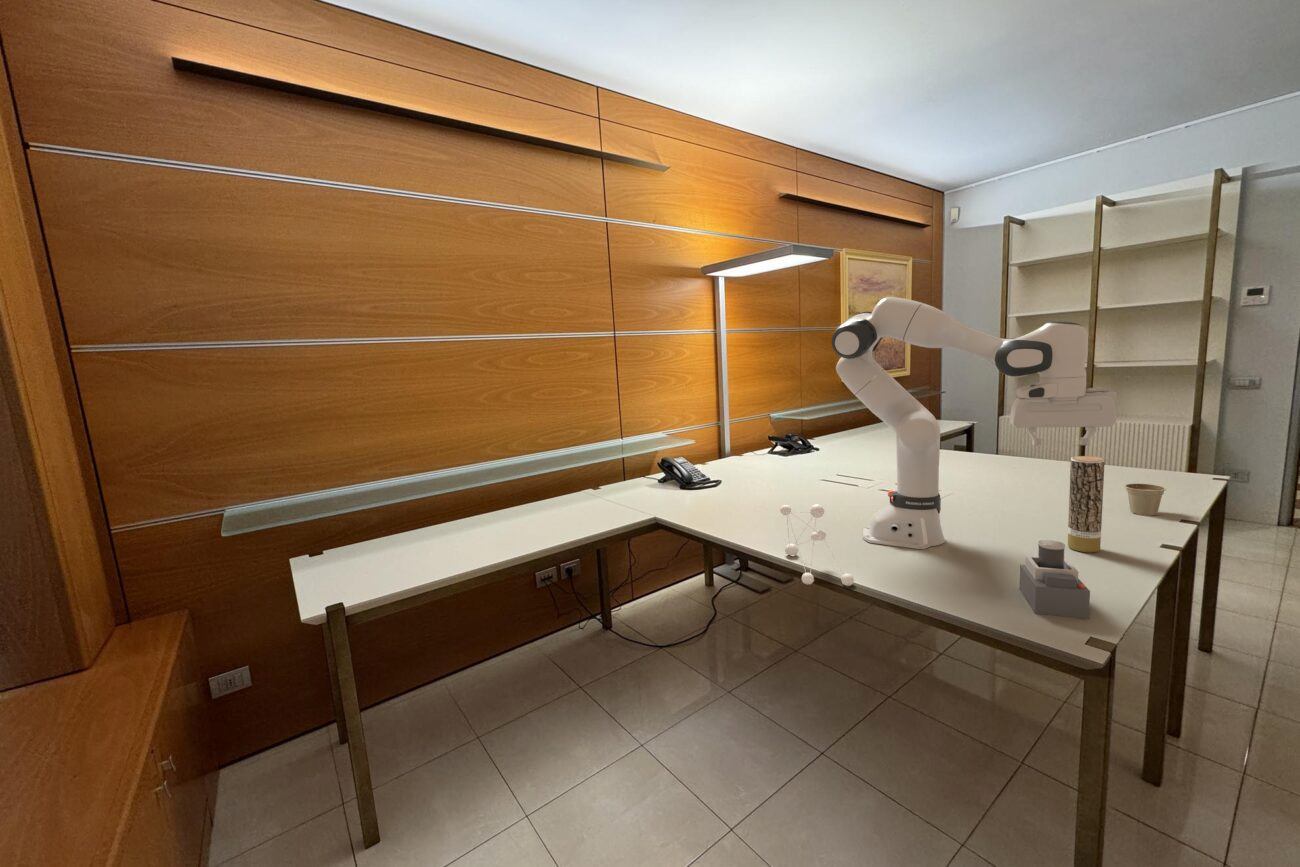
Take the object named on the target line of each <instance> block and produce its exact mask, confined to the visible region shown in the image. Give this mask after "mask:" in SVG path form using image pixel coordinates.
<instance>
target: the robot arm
mask: <svg viewBox="0 0 1300 867" xmlns="http://www.w3.org/2000/svg"><path fill="white" fill-rule="evenodd" d="M885 337H886V338H887V337H888V338H892V339H895V340H898V341H901V342H904V343H906V344H908V345H909V344H910V345H913V346H916V347H923V348H928V349H950V350H951V349H952V350H956V351H961V352H964V353H966V354H970V355H973V356H976V357H979V358H982V359H984V360H986V361H989V362H990V363H992V364H993V365H995V367H996V369H998V371H999V372H1000V373H1001V374H1003V375H1005V376H1007V377H1011V378H1022V377H1027V376H1029V375H1035V374H1038V375H1039V380H1038V381H1039V382H1036V383H1031V384H1029V385H1026V386H1022V387H1019V388H1017V389H1016V391H1015V393H1016V396H1017V398H1016V399H1015V400H1014V401H1013V403H1012V405H1011V410H1010V414H1009V415H1010V416H1009V417H1010V418H1009V423H1010V424H1011V426H1013V427H1014V428H1016V429H1024V428H1025V429H1026V431H1027V433H1028V434H1029V436H1030V437H1031V443H1032V444H1031V445H1032V446H1034V447H1035V446H1042V438H1040V437H1037V435H1036V434H1035V433H1036V432H1037V428H1039V429H1040V428H1044V429H1045V428H1085V431H1087V432H1086V433H1085V434H1084V436H1083V437H1082V436H1081V437H1079V438H1078V439H1079V441H1078V444H1079V446H1090V441H1091V440H1090V439H1092V437H1093V436H1094V435H1095V433H1096V432H1097V427H1098V428H1100V427H1102V428H1107V427H1113V426H1114V425H1115V424H1116V423H1117V412H1116V406H1115V404H1116V403H1117V399H1118V397H1117V396H1118V395H1117V392H1116V391H1115V390H1114V389H1112V388H1109V387H1105V386H1104V387H1087V374H1088V373H1087V371H1086V362H1087V360H1088V354H1089V353H1088V335H1087V330H1086V328H1085V327H1084V326H1083V325H1082V324H1079V323H1077V322H1069V321H1048V322H1046V323H1045V324H1043V325H1041V327H1038V328H1037V329H1034V330H1033V331H1030V332H1029V333H1027V334H1024V335H1022V336H1018V337H1013V338H1004V337H999V336H995V335H992V334H989V333H986V332H983V331H980V330H976V329H974V328H970V327H968V326H966V325H965V324H962V323H961V322H959V321H958V320H957V319H955V318H954V317H953V316H951V315H950V314H948V313H947V312H945V311H943V310H941V309H939V308H938V307H937V308H936V307H935V306H933V305H930V304H927V303H924V302H921V301H917V300H914V299H913V300H912V299H908V298H904V297H897V296H896V297H895V296H887V297H884V298H882V299H880V301H878V302H877V303H876V304H875V306H874V307H873V310H872V311H863V312H858V313H857V314H856V315H855V314H854V315H853V316H850V318H847V319H846V320H845V321H844V323H842V324H840V325H839V326H838V327H837V328H836V329H835V330H834V332H833V335H832V337H831V347H832V349H833V351H834V353H835V354H836V355H838V356H839V357H840V358H839V360H838V362H837V363H836V365H835V371H836V374H837V375H838V376H839V378H840V379H841V381H842V382H843V384H844V385H845V386H846V388H848V390H849V391H850V392H851V393H852V394H853V395H854V396H855V397H856V398H857V399H858V400H859V401H860V402H861V403H862V404H863V405H864V406H865V407H866V408H867V409H868V410H869V411H870V412H871V413H872V414H874V415H875V417H877V418H879V420H880V421H882V422H883V423H885V425H887V426H888V427H889V428H890V429H891V430H892V431H893V432H894V433H895V434H896V491H894V490H893V489H891V490H889V491H887V496H888V497H889V503H888V504H887V505H885V506H884V507H882V508H880V509H878V510H877V511H876V512H875V513H873V515H872V516H871V519H870V522H869V525H868V526H866V527H864V528H863V529H862V538H863V540H865V541H866V542H868V543H870V544H877V545H886V546H893V547H900V548H908V549H917V550H926V549H927V548H931V547H935V546H939V545H942V544H944V543H945V541H946V539H945V536H944V534H943V528H942V524H941V518H940V516H941V509H942V508H941V507H942V506H941V505H942V499H941V498H942V497H941V493H940V492H939V488H940V487H939V484H940V482H939V479H940V477H939V476H940V473H939V472H940V455H941V452H940V450H941V449H940V448H941V428H940V424H939V423H938V421H937V419H936V417H935V415H934V414H933V413H932V412H931V411H929V410H928V409H927V408H926V407H925V406H924V404H922V403H921V402H920V401H919V400H918V399H916V398H915V397H914V396H913V395H912V394H911V393H910V392H909V391H907V390H906V389H905V387H903V386H902V385H901V384H900V383H899V382H898V381H897V380H896V379H895V378H894V377H893V376H892V375H891V374H890V373H889V372H888V371H886V370H885V369H884V368H883V367H882V366H881V365H880V364H879V363H878V362H877V361H876V360H875V358H874V356H873V352H874V351H876V350H877V348H878V346H879V344H880V343H881V341H882V339H883V338H885Z"/></svg>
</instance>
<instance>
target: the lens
mask: <svg viewBox="0 0 1300 867" xmlns="http://www.w3.org/2000/svg"><path fill="white" fill-rule="evenodd" d="M1037 546H1038V555H1037V556H1038V567H1043V568H1056V569H1064V558H1065V549H1066V544H1065V543H1063V542H1061V541H1058V540H1052V539H1040V540H1039V541H1038V542H1037Z"/></svg>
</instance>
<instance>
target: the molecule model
mask: <svg viewBox="0 0 1300 867" xmlns="http://www.w3.org/2000/svg"><path fill="white" fill-rule="evenodd" d="M779 510H780V514H782V516H786V521H787V522H786V524H787V525H789V523H790V526H791V529H792V533H793V537H794V539H795V543H790V540H788V543H787V545H786V546H785V549H784V552H785V554H786V555H787V554H788V555H796V556H797V555H798V553H799V555H800V559H801V562H802V565H803V570H804V572H805V573H803V574H802V576H801V581H802V583H803V584H804V585H807V586H809V585H811V584H813V583H814V582H815V577H814V575H813V574H812V569H809V570H810V571H809V572H806V571H807V570H806V568H805V564H804V562H803V561H804V560H803V557H802V555H801V551H800V548H799V545H802V544H804V543H805V544H806V543H808V542H811V541H812V546H814V545H815V544H814V543H815V542H817V541H824V542H825V544H826V546H827V547H828V549H829V552H830V553H831V555H832V557H833V559H834V560H835V562H836V564H837V565H838V567H839V570H840V571H841V574H842V575H841V578H840V580H841V583H842V584H843V585H844V586H846V587H850V586H852V585H853V584H854V582H855V580H854V576H853V575H852V574H851V573H844V572H843V571H842V568H841V567H840V565H839V563H838V561H837V559H836V558H835V556H834V554H833V552H832V551H831V549H830V546H829V544H828V543H827V541H826V537H827V533H826V531H825V530H823V529H817V530H816V528H814V527H812V526H810V525H809V524H810V522H811V520H812V519H813V518H815V520H814V521H815V522H814V526H816V525H817V524H816V523H817V522H816V521H817V519H819V518H821V517H823V516H824V514H825V508H824V507H823V506H822V505H820V504H818V503H815V504H813V505H811V507H810V509H809V511H801V513H806V514H810V515H811V516H812V517H811V518H810V520H809V522H808V523H806V522H805V521H803V520H802V519H800V517H798V516H796V514H794V513H793V512H792V508H791V506H790V505H788V504H783V505H782V506H781V507H780V509H779ZM790 514H791V515H793V516H794V517H796V519H799V520H800V521H801V522H803V523H804V524H805V528H804V529H803V530H802V532H801V534H800V535H799V537H798V538H796V535H795V531H794V528H793V524H792V522H791V518H790ZM788 519H789V520H788ZM807 527H809V528H811V529H812V530H813V532H812V533H810V539H809V540H806V541H804V542H800V543H798V541H799V539H800V537H801V536H802V535H803V533H804V531H805V530H806V528H807ZM787 532H788V533H787V535H788V536H787V537H790V532H789V528H787ZM813 554H814V549H812V553H811V557H813ZM788 555H787V556H788ZM810 560H811V562H810V567H812V565H813V559H810Z"/></svg>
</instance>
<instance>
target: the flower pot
mask: <svg viewBox="0 0 1300 867" xmlns="http://www.w3.org/2000/svg"><path fill="white" fill-rule="evenodd" d="M1124 488H1125V490H1126V492H1127V496H1128V503H1129V510H1130V513H1132V514H1138V515H1139V516H1148V517H1149V516H1157V515H1158V513H1159V510H1160V509H1159V508H1160V504H1161V502H1162V497H1163V495H1164V494H1165V493H1164V492H1165V491H1167V488H1166V487H1165V486H1161V485H1156V484H1152V483H1151V484H1150V483H1138V482H1137V483H1135V482H1133V483H1127V484H1124Z"/></svg>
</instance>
